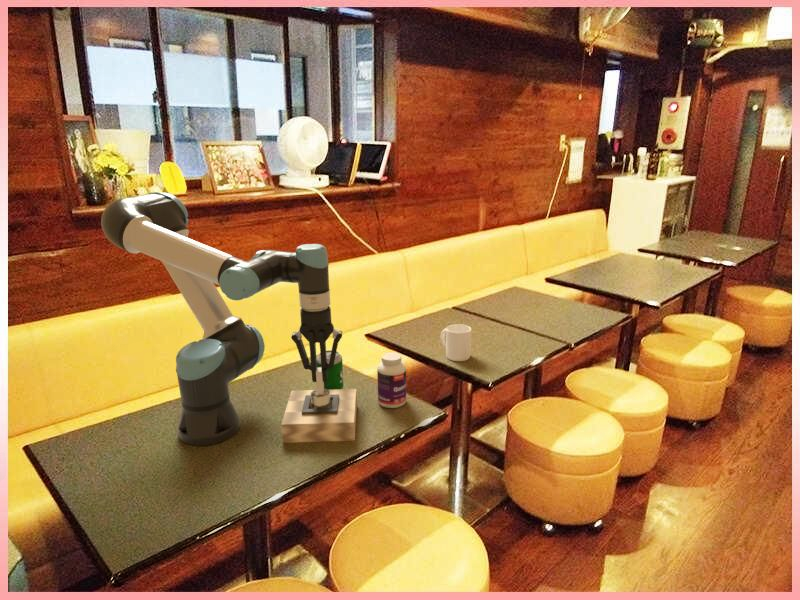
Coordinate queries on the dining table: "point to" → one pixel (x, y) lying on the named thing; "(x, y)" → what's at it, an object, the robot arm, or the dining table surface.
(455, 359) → the mug
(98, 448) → the dining table surface
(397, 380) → the pill bottle
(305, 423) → the block
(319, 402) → the peg
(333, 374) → the soda can
